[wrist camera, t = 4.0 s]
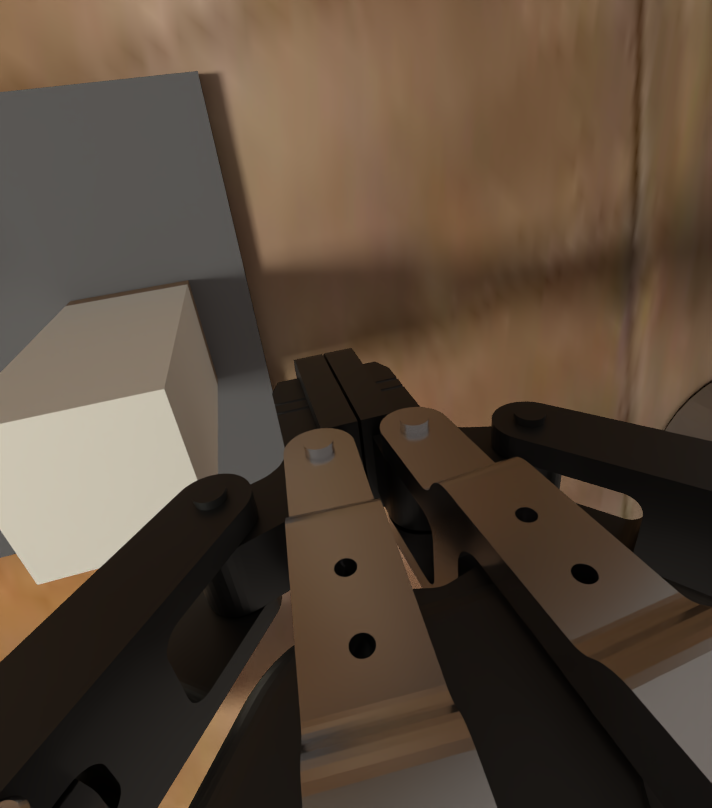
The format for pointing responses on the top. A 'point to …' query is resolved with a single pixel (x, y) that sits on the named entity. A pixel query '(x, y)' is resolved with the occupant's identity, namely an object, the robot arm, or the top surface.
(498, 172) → the top surface
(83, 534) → the cream block
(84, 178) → the mat
